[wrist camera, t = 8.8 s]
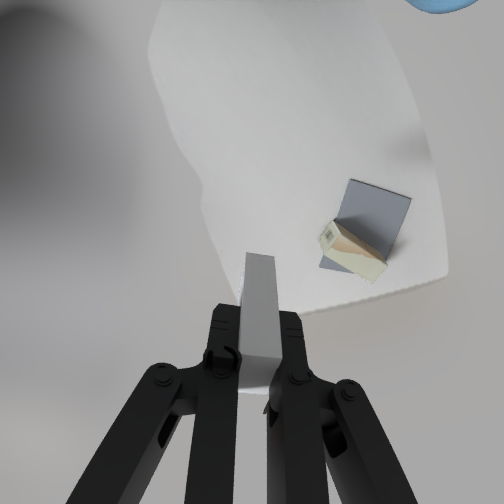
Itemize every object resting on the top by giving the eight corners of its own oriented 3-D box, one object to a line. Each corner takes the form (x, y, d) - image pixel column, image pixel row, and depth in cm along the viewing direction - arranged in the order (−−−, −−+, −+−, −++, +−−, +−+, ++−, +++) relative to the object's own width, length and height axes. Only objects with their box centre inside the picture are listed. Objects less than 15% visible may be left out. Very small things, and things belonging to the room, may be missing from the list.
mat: (349, 179, 40) (350, 179, 40) (410, 198, 41) (411, 199, 41) (319, 266, 48) (319, 267, 47) (376, 276, 49) (377, 277, 49)
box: (332, 219, 43) (377, 249, 46) (316, 239, 45) (362, 267, 48) (341, 234, 38) (389, 266, 41) (323, 257, 40) (372, 285, 43)
